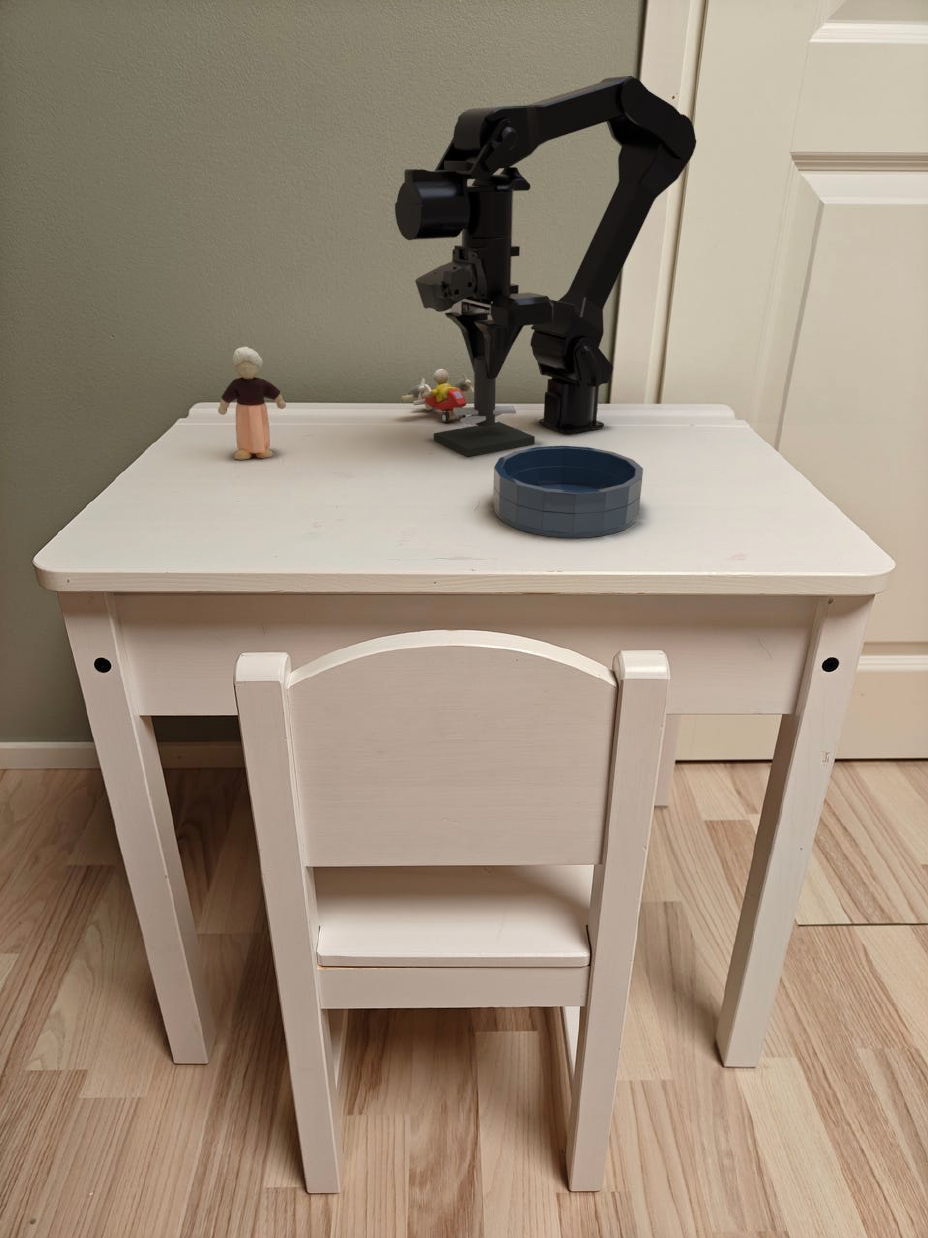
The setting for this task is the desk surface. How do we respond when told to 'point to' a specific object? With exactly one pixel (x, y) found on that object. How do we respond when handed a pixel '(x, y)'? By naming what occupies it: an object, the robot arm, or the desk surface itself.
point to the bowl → (567, 491)
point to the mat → (483, 439)
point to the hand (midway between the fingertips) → (485, 376)
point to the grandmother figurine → (250, 405)
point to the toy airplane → (441, 395)
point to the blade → (483, 399)
